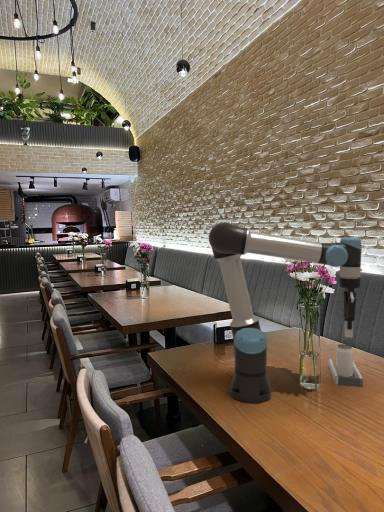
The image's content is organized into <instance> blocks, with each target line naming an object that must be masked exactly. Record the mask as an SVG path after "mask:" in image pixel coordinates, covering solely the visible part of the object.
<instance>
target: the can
mask: <svg viewBox="0 0 384 512" xmlns="http://www.w3.org/2000/svg"><path fill="white" fill-rule="evenodd" d="M335 351H336V353H335V355H336V356H335V360H336V361H335V370H336V372H337V375H338V376H341V377H353V375H354V373H353V362H354V350H353V346H352V345H349V344H344V343H343V344H341V343H340V344H337V347H336V350H335Z"/></svg>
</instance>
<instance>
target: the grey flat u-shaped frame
mask: <svg viewBox="0 0 384 512" xmlns="http://www.w3.org/2000/svg"><path fill="white" fill-rule="evenodd" d="M334 365H335V364H334V362H333V360H332V359H331V358H329V359H328V368H329V370H330V373H331V376H332V379H333V381H334V384H335V385H339V386H340V385H341V386H353V387H354V386H355V387H364V378H363V376H362V375H361V373H360V371H359V369H358V367H357V366H356V364H355V362H354V361H353V375H354V377H353V376H351V377H341V376H339V375H337V372H336V366H334Z"/></svg>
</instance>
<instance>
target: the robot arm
mask: <svg viewBox="0 0 384 512" xmlns="http://www.w3.org/2000/svg"><path fill="white" fill-rule="evenodd" d="M208 243H209V245H210V247H211V251H212V255H213V259H214V261H216V262H218V264H219V268H220V271H221V276H222V280H223V285H224V288H225V292H226V297H227V302H228V305H229V309H230V313H231V318H232V319H231V322H230V324H229V325H230V330H231V334H232V340H233V346H234V374H233V377H232V380H231V383H230V386H229V387H230V388H229V394H230V396H231V397H232V398H233V399H234V400H237V401H239V402H242V403H249V404H258V403H264V402H266V401H269V400H270V398H271V397H272V387H271V384H270V381H269V378H268V375H267V364H268V363H267V360H268V359H267V353H268V352H267V350H268V349H267V348H268V347H267V345H268V339H267V335H266V333H265V331H263V330H262V328H261V324H260V321H259V317H257V316H255V314H254V312H253V306H252V303H251V298H250V294H249V290H248V286H247V281H246V277H245V273H244V269H243V264H242V260H241V256H242V255H243V256H244V255H247V254H254V255H261V256H267V257H268V256H269V257H274V258H281V259H288V260H294V261H301V262H307V263H314V264H317V265H318V264H319V265H320V264H321V265H327V266H330V267H331V268H333V267H334V268H336V267H337V268H338V267H339V287H340V288H343V289H344V290H343V292H342V293H343V317H344V318H343V321H344V337H345V338H353V336H354V321H355V317H356V316H355V315H356V302H357V293H356V292H355V290H356V289H359V288H361V281H362V280H361V278H360V277H361V273H362V272H363V269H362V268H361V266H362V264H361V263H362V250H363V248H362V239H360V237H353V236H352V237H351V236H350V237H341V238H340V240H339V242H320V241H319V242H318V241H313V240H306V239H299V238H293V237H285V236H279V235H274V234H273V235H272V234H268V233H267V234H266V233H262V232H261V233H259V232H254V231H251V230H250V229H249V228H245V227H240V226H236V225H234V224H232V223H230V222H228V221H227V222H226V221H224V222H218V223H217V224H215V225H214V226H213V227H211V229H210V231H209V234H208Z"/></svg>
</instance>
